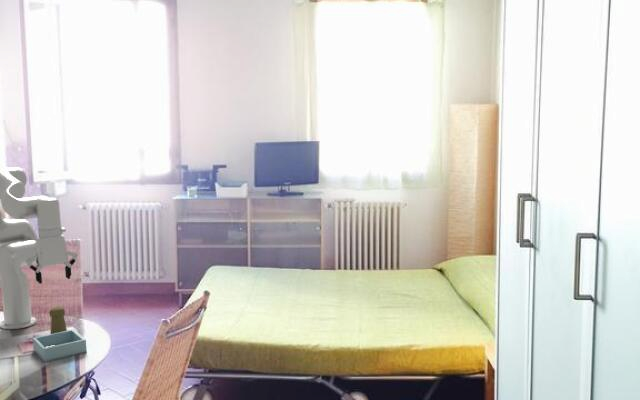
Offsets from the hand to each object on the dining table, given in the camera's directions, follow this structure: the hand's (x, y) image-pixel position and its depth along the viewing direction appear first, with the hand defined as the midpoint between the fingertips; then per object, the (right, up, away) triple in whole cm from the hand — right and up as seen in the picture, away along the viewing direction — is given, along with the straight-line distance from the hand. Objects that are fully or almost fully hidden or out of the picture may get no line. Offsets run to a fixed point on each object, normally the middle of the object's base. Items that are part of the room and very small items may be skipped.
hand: (54, 280), depth 237 cm
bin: (+6, -23, -11) cm, 26 cm away
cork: (0, -21, +4) cm, 21 cm away
